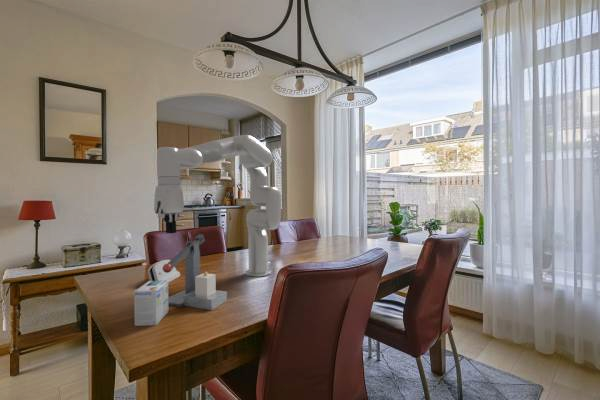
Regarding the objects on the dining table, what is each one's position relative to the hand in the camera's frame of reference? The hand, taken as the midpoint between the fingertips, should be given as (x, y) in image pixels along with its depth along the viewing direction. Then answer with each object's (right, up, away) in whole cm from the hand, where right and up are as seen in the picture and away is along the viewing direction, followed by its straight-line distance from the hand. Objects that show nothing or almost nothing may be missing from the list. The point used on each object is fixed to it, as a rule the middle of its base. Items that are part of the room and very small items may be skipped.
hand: (171, 232), depth 109 cm
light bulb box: (0, -26, -14) cm, 29 cm away
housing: (+13, -22, -1) cm, 25 cm away
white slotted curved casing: (-15, -25, +28) cm, 40 cm away
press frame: (+9, -25, +2) cm, 27 cm away
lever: (+2, -10, +8) cm, 13 cm away
